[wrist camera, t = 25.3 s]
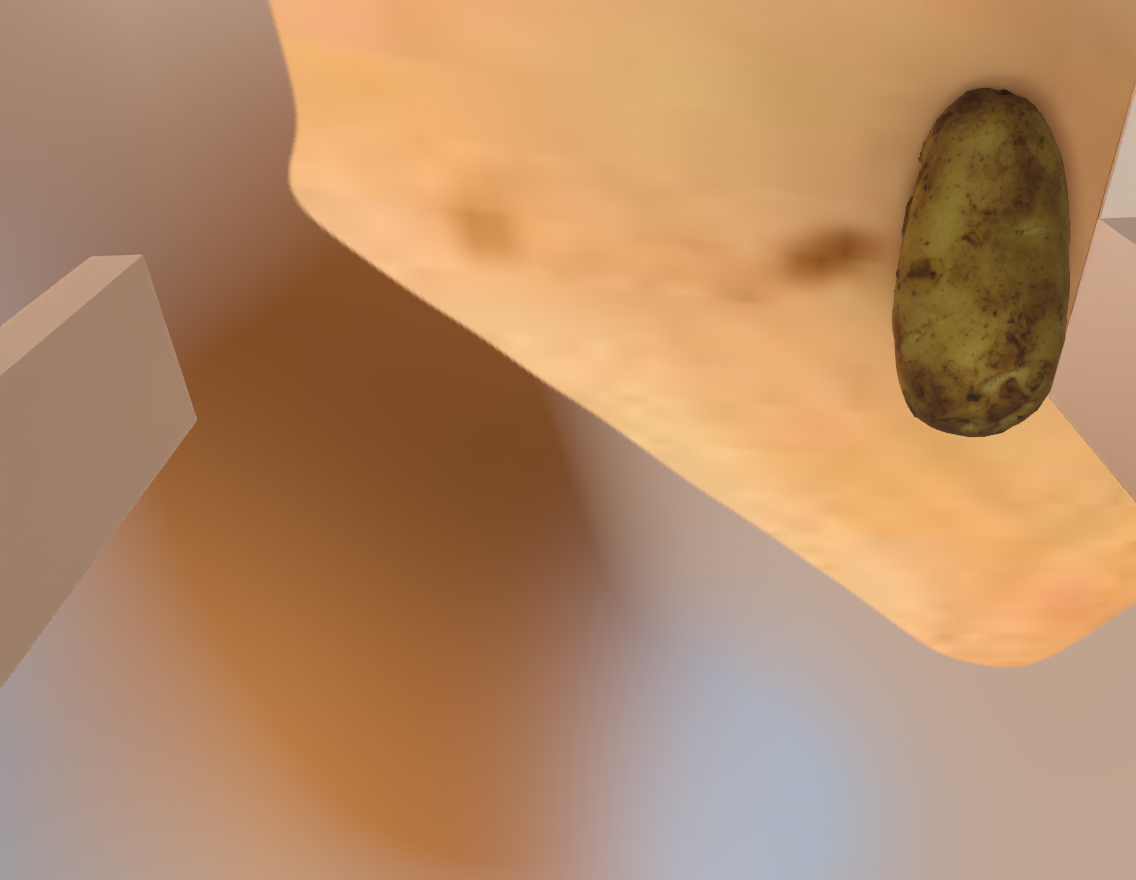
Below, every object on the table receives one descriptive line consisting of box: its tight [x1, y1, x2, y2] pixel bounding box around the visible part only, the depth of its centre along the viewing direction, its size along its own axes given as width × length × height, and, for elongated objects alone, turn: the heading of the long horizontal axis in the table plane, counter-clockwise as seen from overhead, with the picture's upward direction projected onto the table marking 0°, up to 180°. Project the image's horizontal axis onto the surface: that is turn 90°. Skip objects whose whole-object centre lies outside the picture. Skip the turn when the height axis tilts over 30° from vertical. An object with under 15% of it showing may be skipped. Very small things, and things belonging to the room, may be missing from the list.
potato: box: [892, 88, 1070, 437], centre depth 36 cm, size 8×13×8 cm, turn 166°
